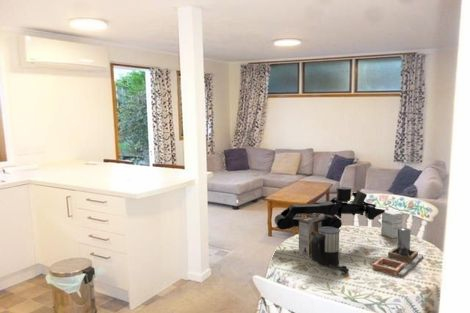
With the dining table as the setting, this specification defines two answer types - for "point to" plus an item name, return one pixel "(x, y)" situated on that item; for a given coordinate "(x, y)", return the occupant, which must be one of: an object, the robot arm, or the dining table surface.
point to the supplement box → (391, 223)
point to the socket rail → (401, 268)
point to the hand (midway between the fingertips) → (380, 208)
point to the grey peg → (403, 241)
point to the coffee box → (308, 234)
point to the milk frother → (327, 248)
